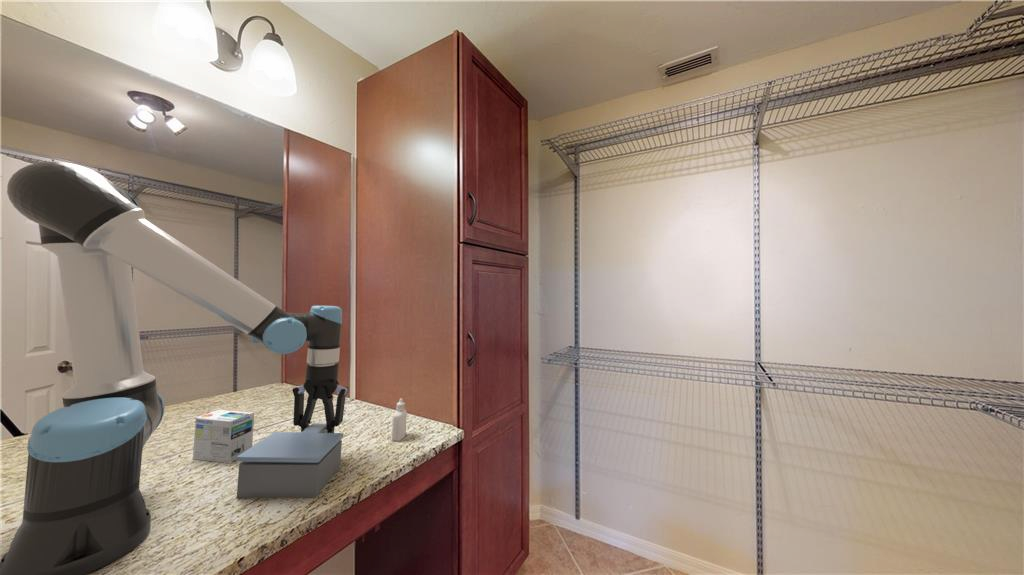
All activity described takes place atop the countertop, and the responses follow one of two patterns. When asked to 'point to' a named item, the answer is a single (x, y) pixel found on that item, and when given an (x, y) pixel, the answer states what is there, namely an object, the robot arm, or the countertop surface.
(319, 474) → the tub
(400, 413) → the eye dropper bottle
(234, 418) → the light bulb box
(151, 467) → the countertop surface
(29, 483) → the robot arm
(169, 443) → the countertop surface
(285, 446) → the lid
